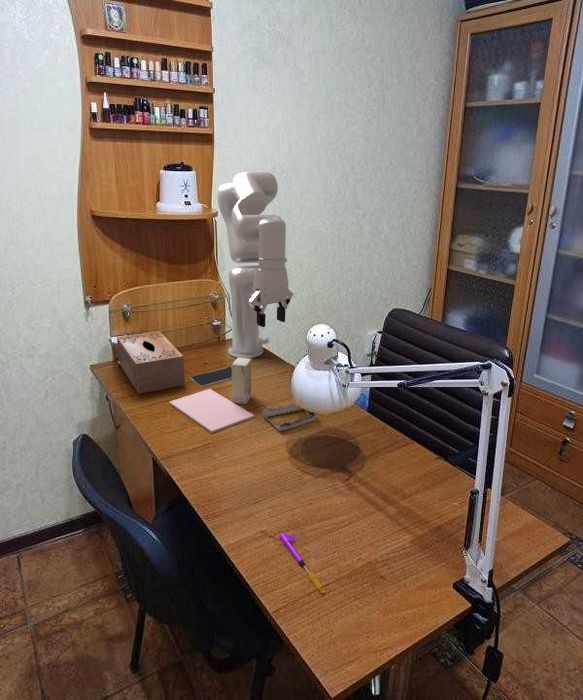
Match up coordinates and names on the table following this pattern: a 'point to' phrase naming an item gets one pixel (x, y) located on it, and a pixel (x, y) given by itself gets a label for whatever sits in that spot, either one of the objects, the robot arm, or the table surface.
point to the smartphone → (213, 377)
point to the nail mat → (211, 410)
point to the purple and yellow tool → (300, 559)
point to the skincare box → (241, 380)
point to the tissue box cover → (151, 361)
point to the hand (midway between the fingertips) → (271, 322)
